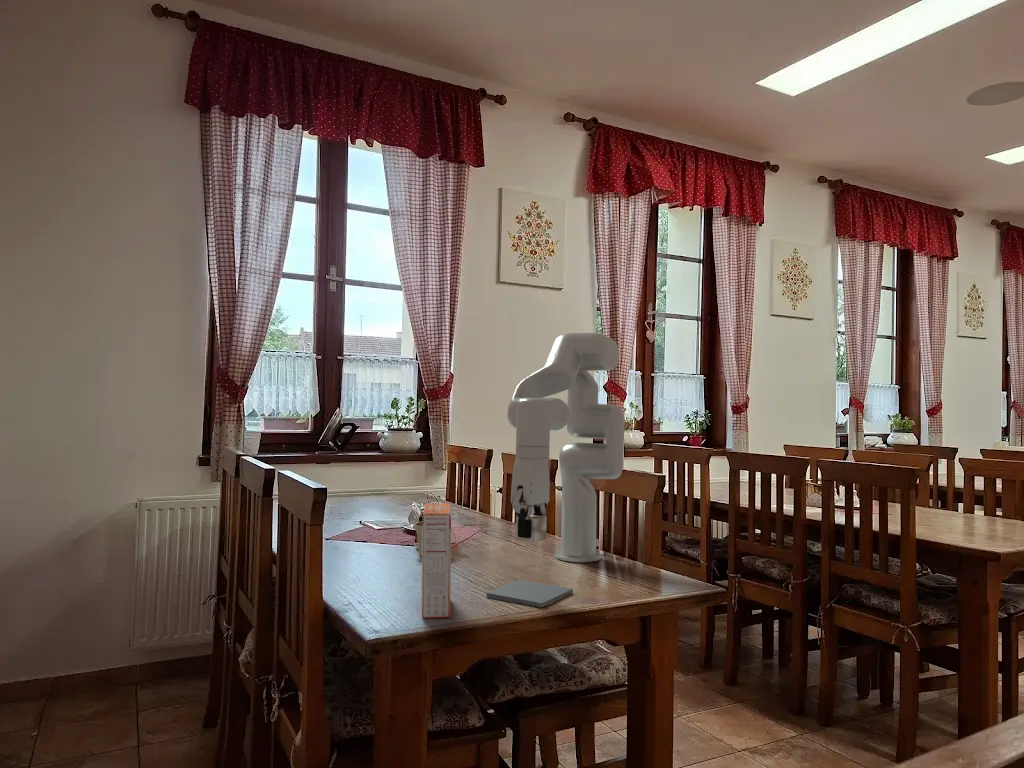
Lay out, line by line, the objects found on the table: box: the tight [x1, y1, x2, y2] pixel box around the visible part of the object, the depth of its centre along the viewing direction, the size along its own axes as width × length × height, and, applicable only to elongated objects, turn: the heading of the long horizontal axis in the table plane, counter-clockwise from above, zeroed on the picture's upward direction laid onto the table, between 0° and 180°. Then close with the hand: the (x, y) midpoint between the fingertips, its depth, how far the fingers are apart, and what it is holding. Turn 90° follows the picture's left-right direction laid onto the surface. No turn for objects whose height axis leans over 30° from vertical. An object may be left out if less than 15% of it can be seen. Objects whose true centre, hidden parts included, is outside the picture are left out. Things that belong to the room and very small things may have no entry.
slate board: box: [486, 579, 574, 608], centre depth 161 cm, size 14×14×1 cm
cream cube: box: [515, 514, 548, 543], centre depth 161 cm, size 5×5×5 cm
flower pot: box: [413, 521, 422, 557], centre depth 200 cm, size 9×9×9 cm
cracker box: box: [421, 502, 452, 619], centre depth 150 cm, size 14×6×21 cm, turn 5°
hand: (531, 534), depth 161 cm, fingers closed on cream cube, 4 cm apart
